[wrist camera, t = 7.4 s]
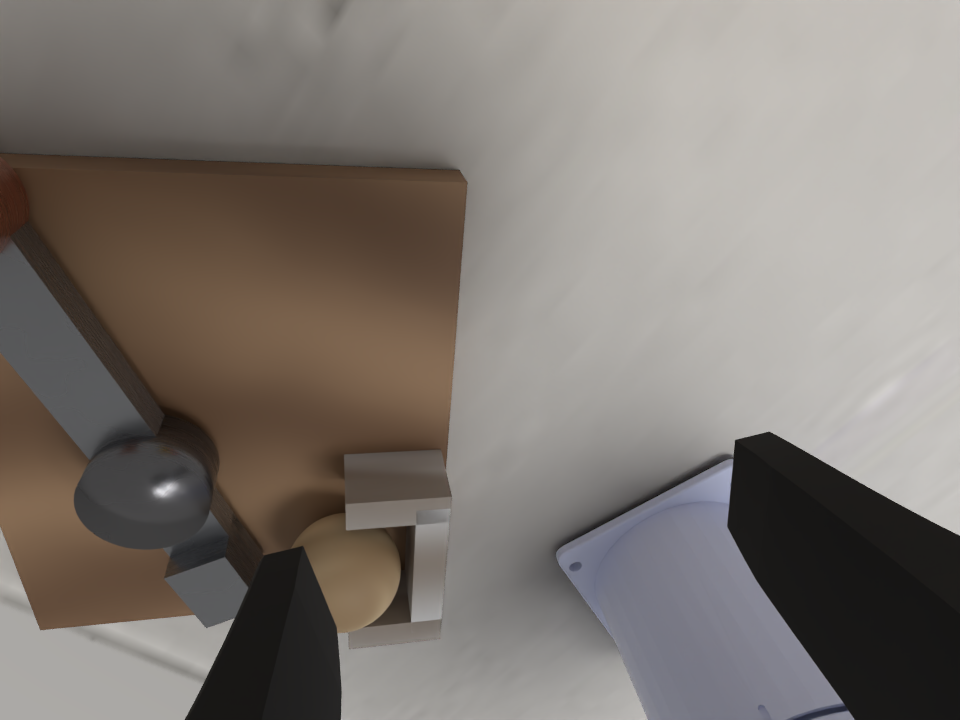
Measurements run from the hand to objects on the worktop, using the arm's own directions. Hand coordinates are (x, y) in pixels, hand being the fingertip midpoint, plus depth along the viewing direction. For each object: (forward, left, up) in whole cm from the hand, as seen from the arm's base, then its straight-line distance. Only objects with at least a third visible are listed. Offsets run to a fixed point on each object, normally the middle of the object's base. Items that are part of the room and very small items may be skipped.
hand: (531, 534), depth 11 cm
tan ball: (-5, +7, -9) cm, 12 cm away
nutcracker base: (0, +8, -10) cm, 12 cm away
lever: (+3, +9, -8) cm, 12 cm away
